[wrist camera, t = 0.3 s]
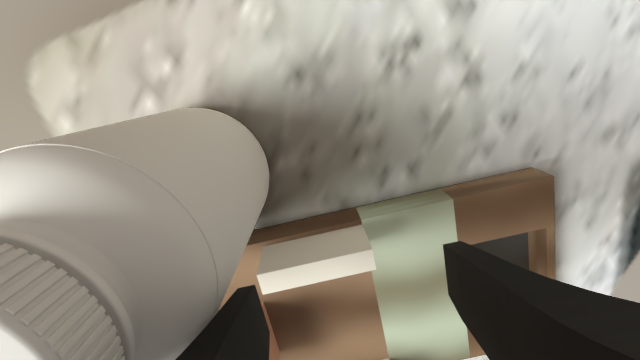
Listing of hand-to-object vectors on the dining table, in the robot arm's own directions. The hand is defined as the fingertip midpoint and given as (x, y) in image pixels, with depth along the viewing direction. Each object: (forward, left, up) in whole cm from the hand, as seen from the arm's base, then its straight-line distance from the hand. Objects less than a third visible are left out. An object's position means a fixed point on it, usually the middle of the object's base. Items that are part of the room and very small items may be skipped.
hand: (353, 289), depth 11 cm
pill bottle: (+3, +7, -10) cm, 13 cm away
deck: (-7, -1, -10) cm, 12 cm away
